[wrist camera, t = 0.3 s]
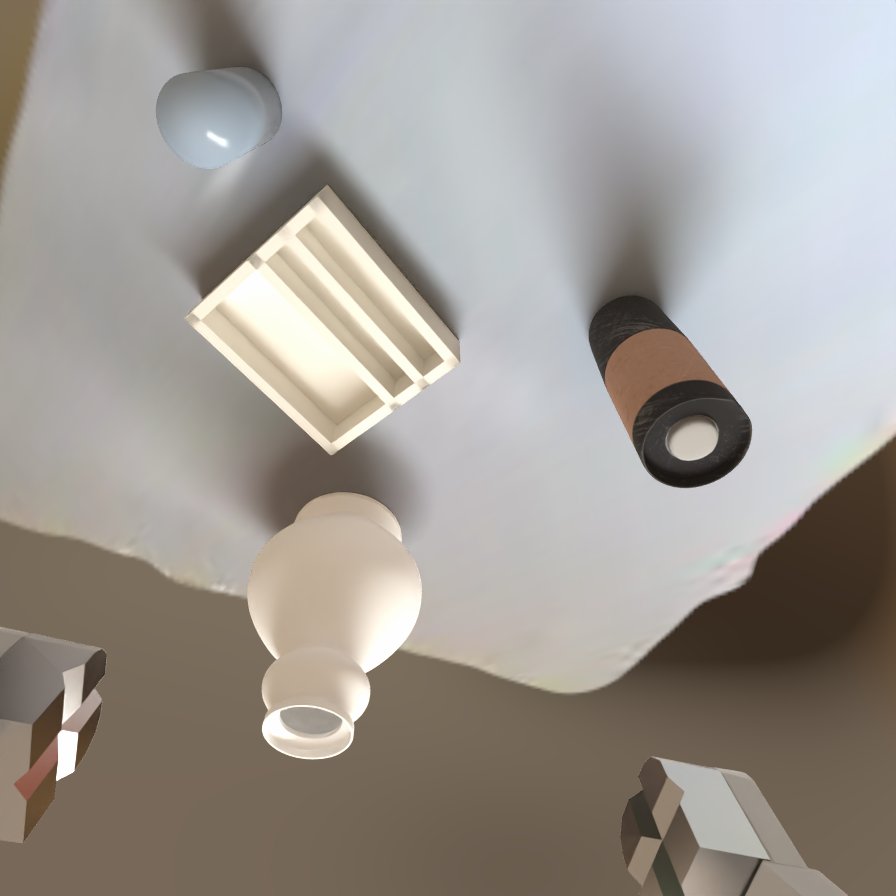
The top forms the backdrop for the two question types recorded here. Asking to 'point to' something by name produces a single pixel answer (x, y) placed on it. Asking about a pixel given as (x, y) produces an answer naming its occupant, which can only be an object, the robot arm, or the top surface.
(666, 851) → the robot arm
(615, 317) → the travel mug
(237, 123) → the grey cylinder
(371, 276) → the compartment tray
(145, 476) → the top surface
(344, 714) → the decorative vase
